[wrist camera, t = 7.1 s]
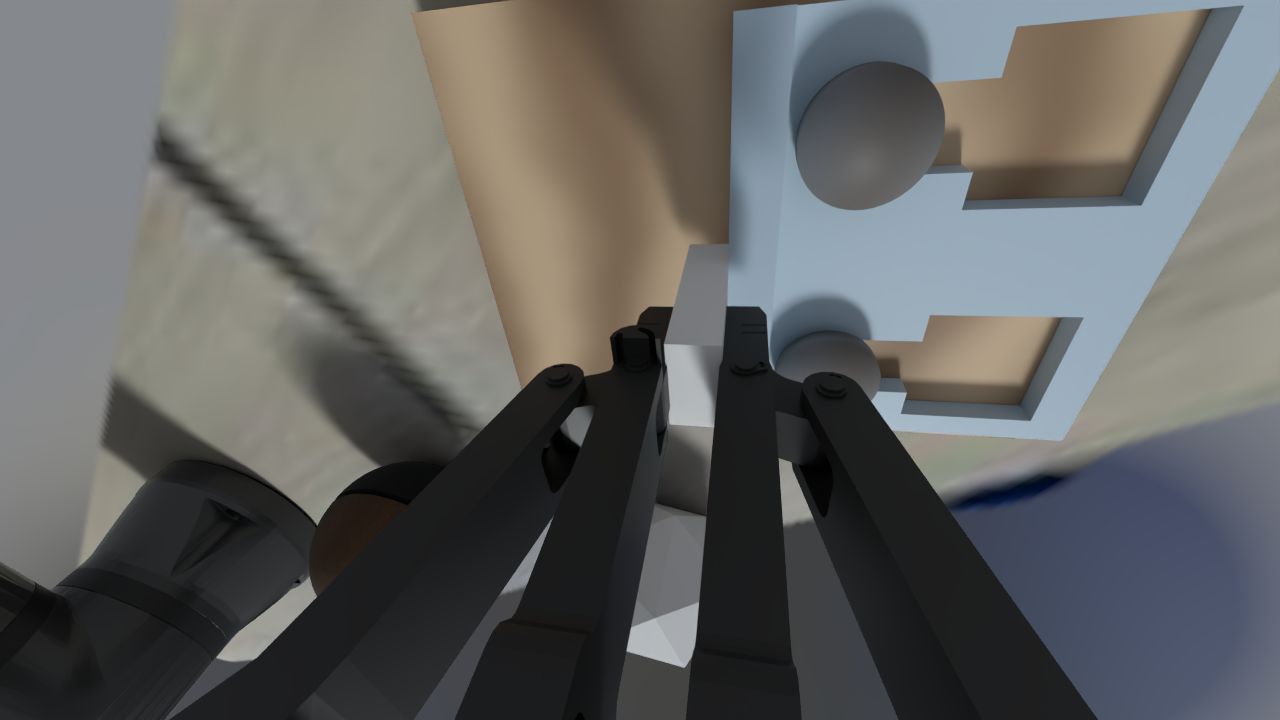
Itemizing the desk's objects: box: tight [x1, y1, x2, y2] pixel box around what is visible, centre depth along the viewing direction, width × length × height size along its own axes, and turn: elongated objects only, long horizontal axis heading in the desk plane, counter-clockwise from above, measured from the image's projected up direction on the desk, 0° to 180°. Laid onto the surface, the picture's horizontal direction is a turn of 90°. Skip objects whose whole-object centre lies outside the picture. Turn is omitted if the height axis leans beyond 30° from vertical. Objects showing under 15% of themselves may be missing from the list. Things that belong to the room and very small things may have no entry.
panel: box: [728, 0, 1280, 441], centre depth 16 cm, size 14×16×4 cm
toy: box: [309, 462, 443, 597], centre depth 30 cm, size 9×10×10 cm
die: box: [627, 503, 706, 667], centre depth 29 cm, size 8×9×10 cm
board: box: [411, 0, 1212, 439], centre depth 19 cm, size 24×18×4 cm
